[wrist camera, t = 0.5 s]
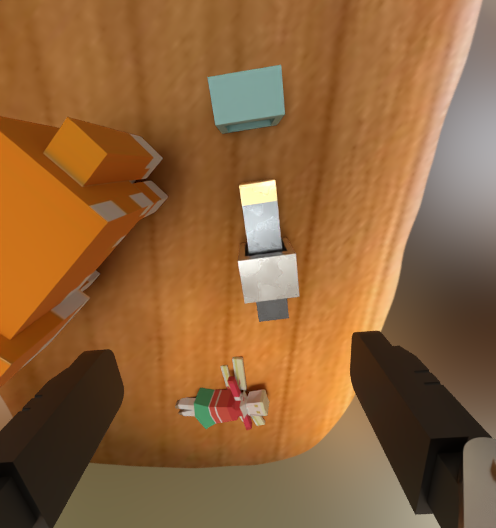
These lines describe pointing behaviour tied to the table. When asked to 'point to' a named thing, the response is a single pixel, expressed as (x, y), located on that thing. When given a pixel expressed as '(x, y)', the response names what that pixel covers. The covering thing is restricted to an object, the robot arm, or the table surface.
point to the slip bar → (263, 234)
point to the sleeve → (268, 274)
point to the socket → (247, 99)
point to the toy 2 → (227, 401)
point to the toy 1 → (62, 222)
